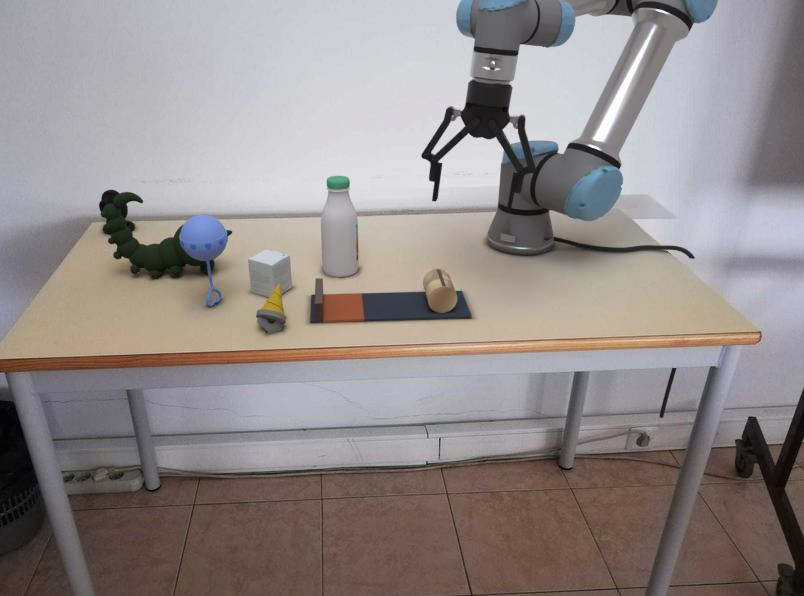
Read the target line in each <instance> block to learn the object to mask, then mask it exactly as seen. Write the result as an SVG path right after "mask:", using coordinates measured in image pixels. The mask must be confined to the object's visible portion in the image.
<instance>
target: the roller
mask: <svg viewBox="0 0 804 596" xmlns="http://www.w3.org/2000/svg"><path fill="white" fill-rule="evenodd" d="M422 287H423V290H424V292H425V294H426V297H427V301H428V304H429V307H430V308H431V309H432V310H433V311H435V312H438V313H445V312H448V311H450V310H452V309H453V308H454V307H455V305H456V303H457V294H456V291H457V290H456V288H455V286H454V283H453V281H452V278H451V276H450V273H448V272H447V271H446V270H444V269H441V268H434V269H431V270H430V271H428V272H426V273H425V274H424V276H423V279H422Z"/></svg>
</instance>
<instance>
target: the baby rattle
mask: <svg viewBox="0 0 804 596" xmlns="http://www.w3.org/2000/svg"><path fill="white" fill-rule="evenodd" d="M183 224H184V225H183ZM183 224H182V225H183V227H182V229H181V233H180V236H179V239H180V244H181V246H182V248H183V249H184V250H185V252H186V253H187V254H188V255H189V256H191V257H192V258H194V259H196V260H200V261H206V264H207V270H208V273H207V275H208V282H209V290H208V292H207V295H206V297H205V304H206V306H207V307H209V308H210V307H211V308H212V307H213V306H214V305H215V304H219V303H220V302H221V300H222V297H223V294H222V292H221V291H220V290H219V289H217V288H216V287H214V282H213V275H212V272H211V269H210V263H209V260H213V259H214V260H215V259H217V258H218V257H220V256H221V255H222V253H224V251H225V249H226V247H227V244H228V241H229V236H228V235H227V231H226V230H227V229H226V228H225V226H224V225H223V223H222V222H221V221H220V220H219V219H217V218H216V217H214V216H212V215H209V214H197V215H193V216H192V217H190V218H188V219H187V220H186V221H185V222H184V223H183ZM214 292H215V293H217V296H218V297H217V299H213V300H212V301H210V300H211V296H212V294H213V293H214Z"/></svg>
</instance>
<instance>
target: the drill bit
mask: <svg viewBox="0 0 804 596" xmlns="http://www.w3.org/2000/svg"><path fill="white" fill-rule="evenodd" d="M255 317H256V319H257V320H256V323H257V324H258V325H259V326H260V327H262V328H263V329H264V330H265V331H267V332H266V335H270V334H275V333H277V332H281V331H282V329H283V325H285V324H286V321H287V316H286V315H285V311H284V304H283V296H282V294H281V288H280V283H279V284H278V285H277V286H276V288H275V289H274V291H273V292H272V294H271V295H270V297H267V300H266V301H265V302H264V304H263V306H262V307H261V308H260V309H257V311H256V314H255Z"/></svg>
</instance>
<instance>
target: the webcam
mask: <svg viewBox="0 0 804 596" xmlns="http://www.w3.org/2000/svg"><path fill="white" fill-rule="evenodd" d="M120 193H121V192H119V191H117V190H115V189H107V190H105V191H104V192H102V194H101V197H100V198H101V199H100V201H99V203H98V209H99V211H100V213H101V212H103V208H104V207H105V206H106V205H107V204H114V203H113V200H114V197H115V196H116V195H118V194H120ZM120 210H121V215H122V216H123V217H124V218H125V219H126V218H127V217H128V214H129V208H128V203H127V204H126V205H125V206H124V207H122V208H120ZM126 223H127V226H126V227H128V228H129V229H130V230H131V231H132V232H133V231H134V230H135V228H136V225H135V223H134V222H133V221H131V220H127V219H126ZM102 231H103V233H105V234H106V235H109V236H111V231H110V230H105V228H104V225H103V226H102Z"/></svg>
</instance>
